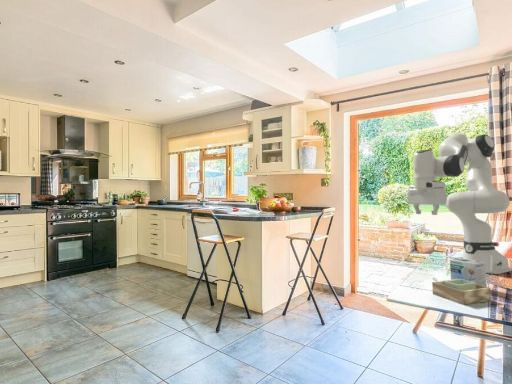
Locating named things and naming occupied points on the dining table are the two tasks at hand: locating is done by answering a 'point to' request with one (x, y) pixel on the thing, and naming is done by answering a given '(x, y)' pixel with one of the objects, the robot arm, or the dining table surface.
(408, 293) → the dining table surface
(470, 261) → the light bulb box
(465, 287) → the green crate
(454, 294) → the birch crate
